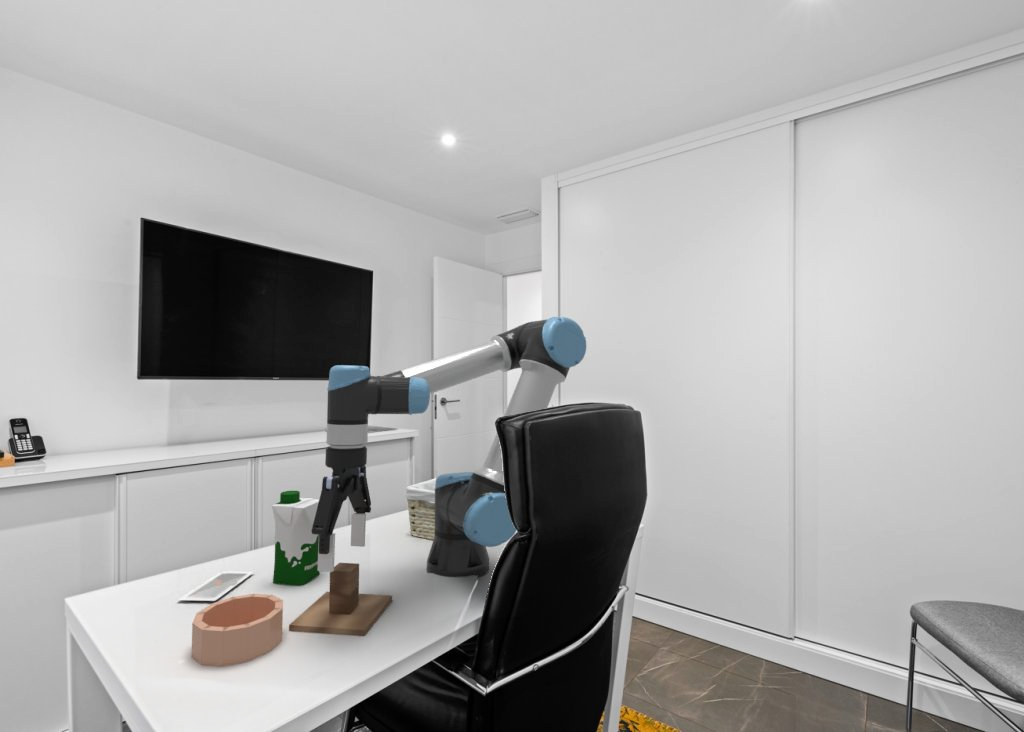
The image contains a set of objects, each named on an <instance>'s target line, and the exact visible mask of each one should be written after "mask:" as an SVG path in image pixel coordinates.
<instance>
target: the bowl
mask: <svg viewBox="0 0 1024 732" xmlns="http://www.w3.org/2000/svg"><path fill="white" fill-rule="evenodd" d="M283 609H284V600H283V599H281V598H280V597H278V596H276V595H273V594H267V593H266V594H265V593H250V594H243V595H236V596H231V597H228V598H224V599H222V600H219V601H215V602H213V603H210V604H208V605H207V606H206V607H204V608H202V609H201V610H199V611H197V612H196V613H195V616H194V618H193V621H192V626H191V628H192V629H191V630H192V631H191V658H192V659H193V660H195V661H196V662H197V663H198V664H200V665H201V666H212V667H226V666H227V667H228V666H231V665H232V666H233V665H236V664H241V663H248V662H250V661H252V660H254V659H256V658H258V657H261V656H264V655H265V654H268V653H270V652H272V650H273V649H274V648H276V647H277V646H278V645H279V644H280V643H281V642H282V641H283V617H284V616H283V614H284V612H283V611H284V610H283Z"/></svg>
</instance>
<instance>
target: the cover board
mask: <svg viewBox="0 0 1024 732" xmlns="http://www.w3.org/2000/svg"><path fill="white" fill-rule="evenodd" d="M359 584H360V563H352V562H338V563H337V564H336V565H334V571H333V572H329V591H326V592H324V593H323V594H322V595H321V596H319V598H318V599H317V600H316V601H314V602H313V603H312V604H311V605H310V606H308V608H307V609H305V610H304V611H303V612H302V613H301V614H299V616H298V617H296V618H295V619H294V620H293V621H292V622H290V623H289V624H288V631H289V632H297V631H301V633H311V632H315V633H314V634H325V633H329V634H330V635H340V634H344V636H354V635H358V637H365V636H366V635H367V634H368V632H369V631H370V630H371V629H372V628H373V626H374V625H375V624H376V622H377V621H378V620H379V618H380V617H381V616H382V615H383V614H384V612H385V611H386V610H387V608H388V607H389V606H390V604H391V603H392V602H393V595H388V594H371V593H359V592H360V591H359V590H360V585H359ZM388 605H389V606H388ZM384 610H385V611H384ZM381 614H382V615H381ZM377 619H378V620H377ZM373 624H374V625H373ZM370 628H371V629H370ZM366 633H367V634H366Z"/></svg>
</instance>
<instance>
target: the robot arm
mask: <svg viewBox="0 0 1024 732" xmlns="http://www.w3.org/2000/svg"><path fill="white" fill-rule="evenodd" d="M586 351H587V340H586V336H585V335H584V331H583V329H582V328H581V326H580V325H579V323H577V322H576V321H575V320H573V319H572V318H570V317H564V316H561V317H558V316H552V317H549V318H547V319H540V320H534V321H530V322H525V323H523V324H521V325H518V326H516V327H514V328H511V329H510V330H507V331H505V332H502V333H499V334H496V335H492V337H491V338H490V341H488V342H487V341H486V342H484V343H481V344H477V345H475V346H471V347H468V348H465V349H462V350H459V351H456V352H452V353H450V354H447V355H443V356H441V357H440V356H439V357H437V358H434V359H431V360H428V361H425V362H422V363H418V364H415V365H412V366H408V367H407V368H403V369H400V370H399V369H398V371H393V372H391V373H388V374H384V375H381V376H380V375H376V376H374V375H372V374H371V373H370V368H369V367H368V366H365V365H347V364H345V365H344V364H341V365H339V364H337V365H334V366H332V367H331V368H330V370H329V373H328V374H329V375H328V376H329V377H328V386H327V407H326V408H327V411H326V412H327V413H326V416H327V417H326V428H325V429H324V430H325V433H326V440H325V441H326V444H327V445H328V446H327V447H326V448H325V461H324V462H325V465H324V466H326V467H327V468H330V469H332V472H331V473H332V474H331V476H323V478H322V484H321V492H320V496H319V503H318V507H317V511H316V515H315V519H314V523H313V527H312V534H316V535H319V543H318V571H320V572H325V573H326V572H327V573H328V572H329V573H330V572H333V571H334V567H335V554H336V553H335V552H336V551H335V549H336V533H334V530H335V527H336V524H337V520H338V518H339V515H340V512H341V509H342V506H343V503H344V502H345V501H346V500H347V499H348V500H349V503H350V504H351V508H352V509H353V511H354V512H352V513H351V523H350V524H351V526H350V527H351V528H350V546H351V547H359V548H360V547H363V548H364V547H366V527H367V525H366V523H367V522H366V521H367V513H369V514H370V513H371V512H372V507H371V506H372V500H371V497H370V490H369V485H368V484H369V483H368V480H367V467H366V465H367V462H368V461H367V460H368V459H367V458H368V457H367V456H368V448H367V447H366V444H368V439H369V438H368V437H369V436H368V435H369V433H368V431H369V421H368V420H369V415H409V416H411V415H417V414H424V413H425V412H426V411H427V409H428V407H429V405H430V399H431V394H435V393H437V392H439V391H443V390H446V389H448V388H449V389H450V388H452V387H454V386H457V385H460V384H463V383H465V382H469V381H471V380H474V379H477V378H480V377H482V376H483V377H484V376H485V375H489V374H491V373H495V372H498V371H501V372H503V373H505V372H508V371H509V372H510V371H511V370H516V369H521V373H520V377H519V379H518V381H517V383H516V386H515V388H514V390H513V392H512V395H511V398H510V399H509V403H508V405H507V407H506V409H505V413H504V415H503V417H504V416H508V415H513V414H518V413H524V412H530V411H536V410H540V409H547V410H548V406H549V404H550V401H551V399H552V397H553V394H554V392H555V389H556V386H557V385H558V384H562V383H564V382H565V381H566V378H567V376H568V373H569V371H570V368H572V367H576V365H579V364H580V363H582V360H583V359H584V357H585V355H586ZM435 478H436V484H435V489H434V491H435V536H434V540H432V543H431V547H430V550H429V552H428V556H427V558H426V572H427V574H434V575H437V576H440V577H447V578H464V577H471V576H475V577H476V576H477V578H479V577H481V576H483V575H485V574H487V573H488V572H489V571H490V556H489V553H488V550H487V548H488V547H489V548H493V547H498V546H501V545H503V544H504V543H506V542H508V541H510V539H512V537H514V535H515V534H516V533H517V531H516V529H515V528H514V526H513V524H512V521H511V518H510V515H509V511H508V507H507V502H506V498H505V491H504V482H503V471H502V458H501V449H500V444H499V439H498V435H497V433H496V434H495V436H494V439H493V441H492V444H491V446H490V449H489V452H488V453H487V455H486V459H485V461H484V463H483V465H482V467H480V468H478V469H476V470H474V471H465V472H451V473H444V474H440V475H438V476H437V477H435Z"/></svg>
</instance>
